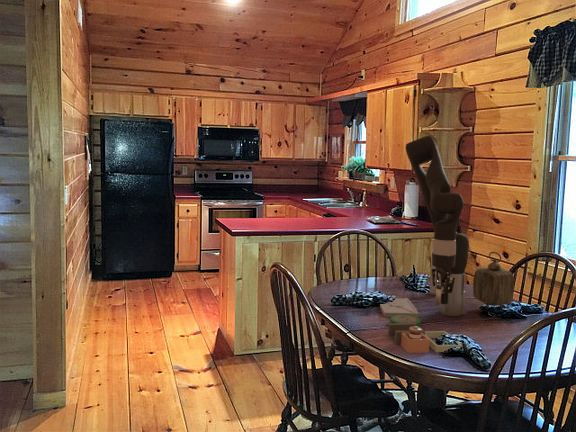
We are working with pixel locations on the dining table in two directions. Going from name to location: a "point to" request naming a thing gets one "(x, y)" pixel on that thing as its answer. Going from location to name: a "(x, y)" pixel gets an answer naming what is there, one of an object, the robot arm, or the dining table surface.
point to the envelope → (399, 308)
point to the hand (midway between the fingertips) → (441, 301)
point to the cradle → (399, 331)
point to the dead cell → (415, 332)
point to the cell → (438, 295)
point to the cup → (415, 344)
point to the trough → (439, 347)
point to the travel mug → (432, 288)
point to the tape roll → (405, 319)
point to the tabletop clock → (493, 284)
